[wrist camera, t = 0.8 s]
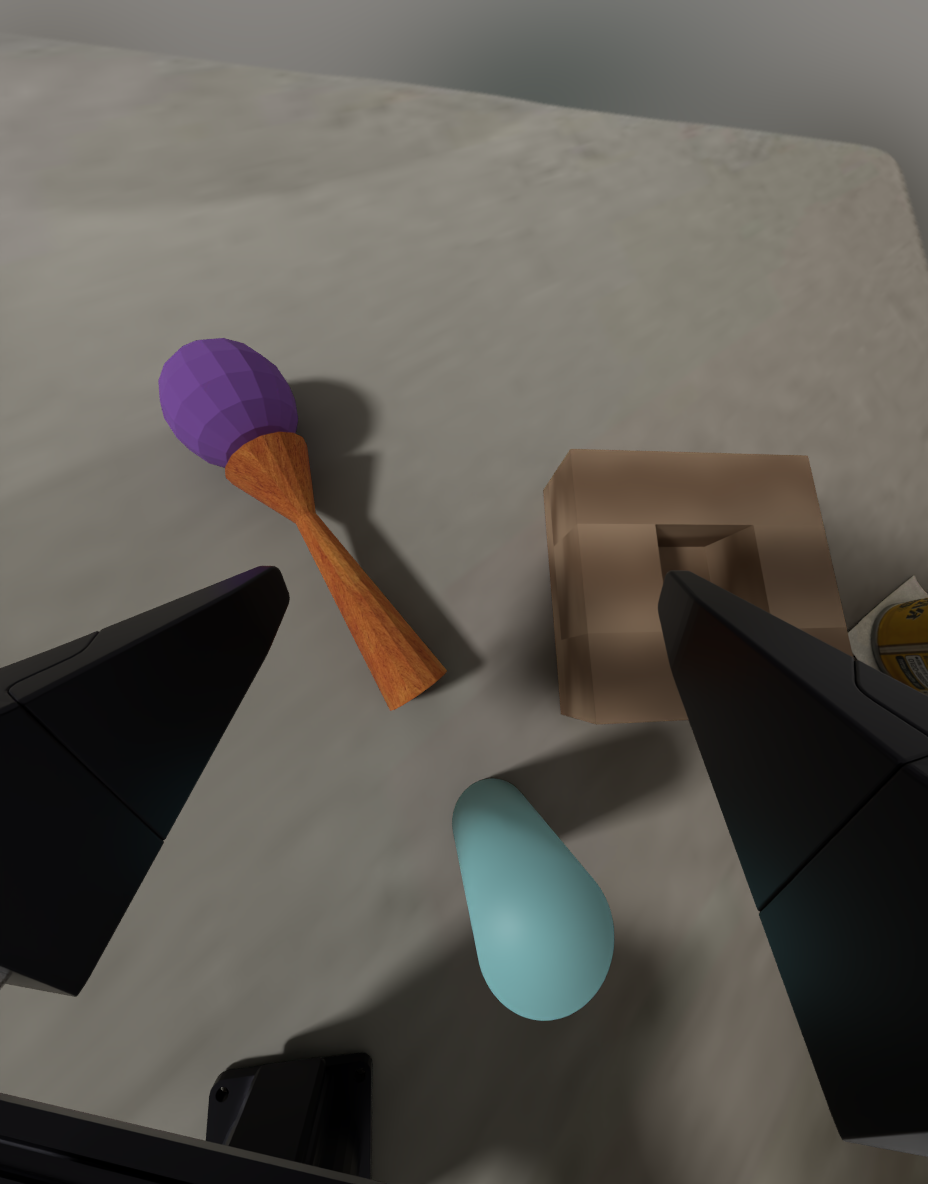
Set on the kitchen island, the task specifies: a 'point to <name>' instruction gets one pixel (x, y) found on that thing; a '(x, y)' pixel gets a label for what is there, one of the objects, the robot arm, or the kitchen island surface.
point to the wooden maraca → (286, 490)
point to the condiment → (896, 636)
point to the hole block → (674, 564)
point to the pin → (529, 905)
